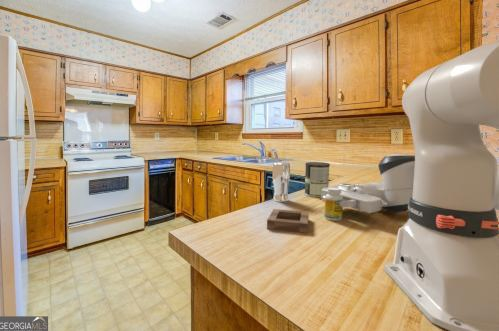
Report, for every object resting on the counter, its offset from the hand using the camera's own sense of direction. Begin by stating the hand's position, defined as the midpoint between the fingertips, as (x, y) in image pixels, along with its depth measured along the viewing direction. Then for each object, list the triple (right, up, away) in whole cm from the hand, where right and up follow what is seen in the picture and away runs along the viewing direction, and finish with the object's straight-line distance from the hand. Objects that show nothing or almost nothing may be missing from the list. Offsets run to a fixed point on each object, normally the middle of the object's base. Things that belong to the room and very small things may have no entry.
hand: (331, 201), depth 78 cm
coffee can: (+4, -2, +33) cm, 33 cm away
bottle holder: (-14, -6, -4) cm, 16 cm away
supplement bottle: (+1, -6, +1) cm, 6 cm away
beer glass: (-13, -3, +23) cm, 27 cm away
